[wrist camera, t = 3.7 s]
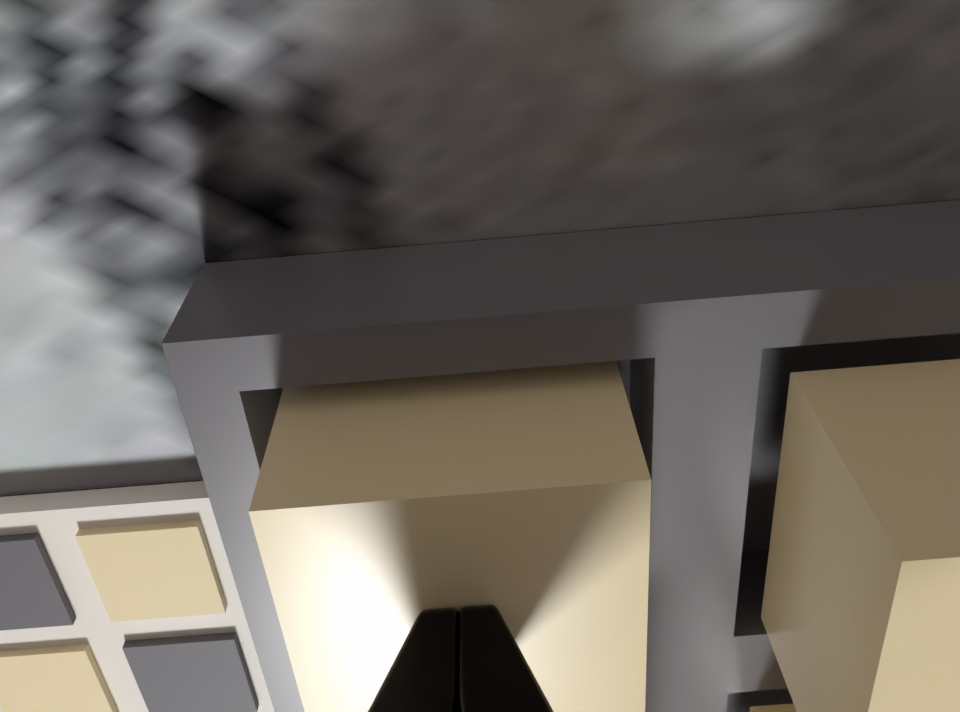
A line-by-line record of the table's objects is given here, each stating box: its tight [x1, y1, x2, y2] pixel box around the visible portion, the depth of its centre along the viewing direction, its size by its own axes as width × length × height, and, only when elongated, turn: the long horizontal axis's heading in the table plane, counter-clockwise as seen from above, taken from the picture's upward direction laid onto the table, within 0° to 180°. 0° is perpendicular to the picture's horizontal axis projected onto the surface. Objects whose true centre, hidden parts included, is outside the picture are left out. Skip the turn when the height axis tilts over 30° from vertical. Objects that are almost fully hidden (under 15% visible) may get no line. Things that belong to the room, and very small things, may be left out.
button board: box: [162, 200, 960, 712], centre depth 14 cm, size 12×12×2 cm
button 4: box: [249, 361, 651, 712], centre depth 11 cm, size 4×4×3 cm
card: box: [0, 481, 275, 712], centre depth 15 cm, size 5×5×1 cm
